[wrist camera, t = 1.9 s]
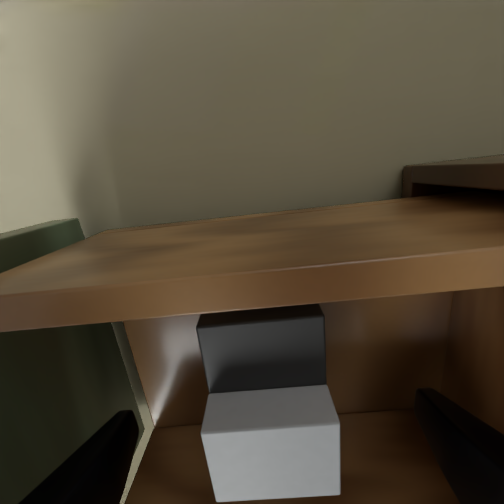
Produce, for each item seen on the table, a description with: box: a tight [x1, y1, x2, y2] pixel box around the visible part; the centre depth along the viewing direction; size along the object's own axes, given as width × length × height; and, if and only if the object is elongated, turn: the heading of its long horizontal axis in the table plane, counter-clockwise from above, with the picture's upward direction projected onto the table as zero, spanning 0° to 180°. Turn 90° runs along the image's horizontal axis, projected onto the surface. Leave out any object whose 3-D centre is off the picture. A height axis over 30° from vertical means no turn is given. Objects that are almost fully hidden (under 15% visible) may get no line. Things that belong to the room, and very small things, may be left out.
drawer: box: [0, 191, 504, 504], centre depth 9 cm, size 19×12×7 cm, turn 96°
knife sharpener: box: [196, 303, 341, 502], centre depth 9 cm, size 7×3×5 cm, turn 6°
